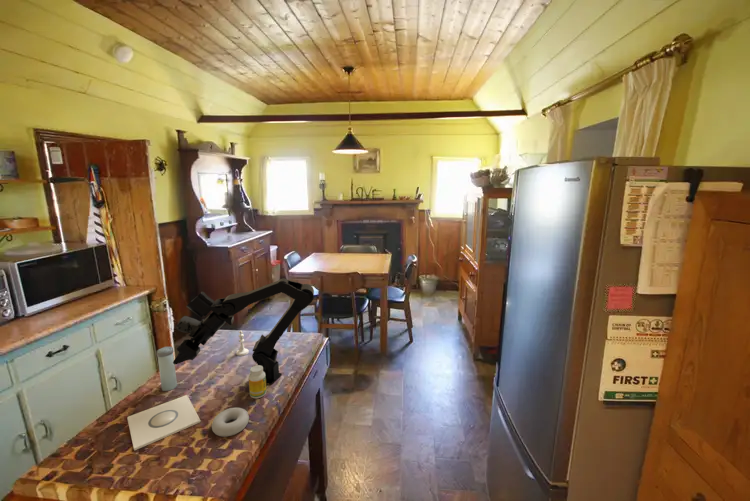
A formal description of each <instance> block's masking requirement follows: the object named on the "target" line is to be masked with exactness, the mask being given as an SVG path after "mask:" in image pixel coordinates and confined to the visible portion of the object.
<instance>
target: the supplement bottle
mask: <svg viewBox="0 0 750 501" xmlns="http://www.w3.org/2000/svg"><path fill="white" fill-rule="evenodd" d="M249 371H250V372H249V375H248V385H249V386H248V388H249V396H250V397H251V398H253V399H259V398H262V397H265V395H266V394H267V383H266V375H265V372H264V371H263V366H261V365H258V364H256V365H253V366H251V368H250V370H249Z"/></svg>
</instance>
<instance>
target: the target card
mask: <svg viewBox="0 0 750 501" xmlns="http://www.w3.org/2000/svg"><path fill="white" fill-rule="evenodd" d="M127 423H128V428H129V433H130V438H131V442H132V447H133V450H134V451H137V450H139V449H141V448H144V447H146V446H148V445H151V444H153V443H155V442H158V441H160V440H162V439H164V438H167V437H170V436H171V435H174V434H176V433H178V432H181V431H183V430H185V429H187V428H190V427H193V426H195V425H197V424H200V423H201V419H200V417H199V415H198V413H197V411H196V409H195V407H194V405H193V402H192V401H191V400H190V398H189V395H188V394H185V395H183V396H181V397H178V398H175V399H173V400H170V401H166V402H164V403H162V404H158V405H155V406H152V407H151V408H148V409H145V410H142V411H139V412H137V413H134V414H132V415H129V416H127Z"/></svg>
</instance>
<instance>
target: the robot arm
mask: <svg viewBox="0 0 750 501" xmlns="http://www.w3.org/2000/svg"><path fill="white" fill-rule="evenodd" d="M281 293H282V294H285V295H287V296H288V297H289V298H291V299H293V300H292V302H291V303H290V305H289V306H288V307H287V309H286V311H285V312H284V313H283V315H281V317H280V318H279V319H278V321H277V322H276V324H275V325H274V326H273V328H272V329H271V331H270V332H269V333H268V334H266V335H264V334H261V335H260V337H259V339H258V340H257V341H255V344H254V347H253V348H252V352H253V353H252V355H251V358H252V360H253V362H255V363H256V365H261V366H263V371H264V372H265V375H266V384H268V385H273V384H274V383H275V382H276V381H277V380H278V379H279V378H280V377H281V376H282V374H283V373H282V372H280V366H279V361H277V358H278V353H279V351H278V350H277V349H276V347H275V346H276V344H277V342H279V340H280V338H281V337H282V336H283V335H284V333H285V332H286V330H287V329H288V328H289V327H290V325H291V324H292V322H293V321H294V320H295V318H296V317H297V316H298V315H299V313H300V312H302V311H304V309H306V308H307V307H309V305H311V303H312V302H313V301H314V298H315V297H314V296H315V290H314V287H313V286H312V285H311V284H309V283H301V282H298V281H294V280H290V279H287V278H284V277H283V278H280V279H279V280H276V281H274V282H271V283H269V284H265V285H262V286H261V287H257V288H255V289H253V290H250V291H246V292H238V293H237V292H236V293H232V294H229V295H227V296H226V297H222V298H217V299H216V300H214V299H212V298H211V297H210V296H208V295H207V294H206V292H204V291H201V292H200V293H199V294H198V295H197V296H195V298H193V299H192V300H191V301H189V303H188V304H187V305H186V308H188V309H189V310H191V312H193V313H194V314H195V315H197V316H198V317H201V318H203V317H205V318H203V319H201V320H198V319H196V318H194V317H190V316H187V315H184V316H182V317H181V318H180V319H179V321H178V323H177V324H176V327H175V328H176V330H178V331H179V332H182V333H188V336H189V337H190V339H183V340H182V341H181V343H180V344H179V345H178V346H177V347H176V351H177V352H178V354H177V355H176V357H174V361H173V364H175V366H177V365H178V364H181V363H184V362H186V361H193V360H194V359H196V358H197V356H198V355H199V354H200V352H201V347H200V345H203V346H205V345H206V344H207V342H208V341H209V340H210V339H211V338H213V337H214V336H215V334H216V333H217V332H218V331H219V330H220V329H221V328H222V327H223V326H224V325H225V324H228V325H229V326H232V325H233V323H234V322H235V319H234V316H235V315H237V313H239V312H241V311H242V310H244V309H246V308H247V307H248V306H250V305H252V304H255V303H258V302H260V301H263V300H265V299H267V298H270V297H273V296H276V295H279V294H281ZM209 313H210V314H209ZM208 314H209V315H208ZM207 315H208V316H207Z"/></svg>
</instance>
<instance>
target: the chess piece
mask: <svg viewBox="0 0 750 501" xmlns="http://www.w3.org/2000/svg"><path fill="white" fill-rule="evenodd" d="M244 336H245V335H244V332H243V331H242V330H240V331H239V332H238V338H239V340H238V342H239V344H240V345H239V347H240V348H239V349H238V350H236V356H240V357H242V356H245V355H248V354H249V353H250V352H249V349H248V348H245V344H244V342H245V339H244Z"/></svg>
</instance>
